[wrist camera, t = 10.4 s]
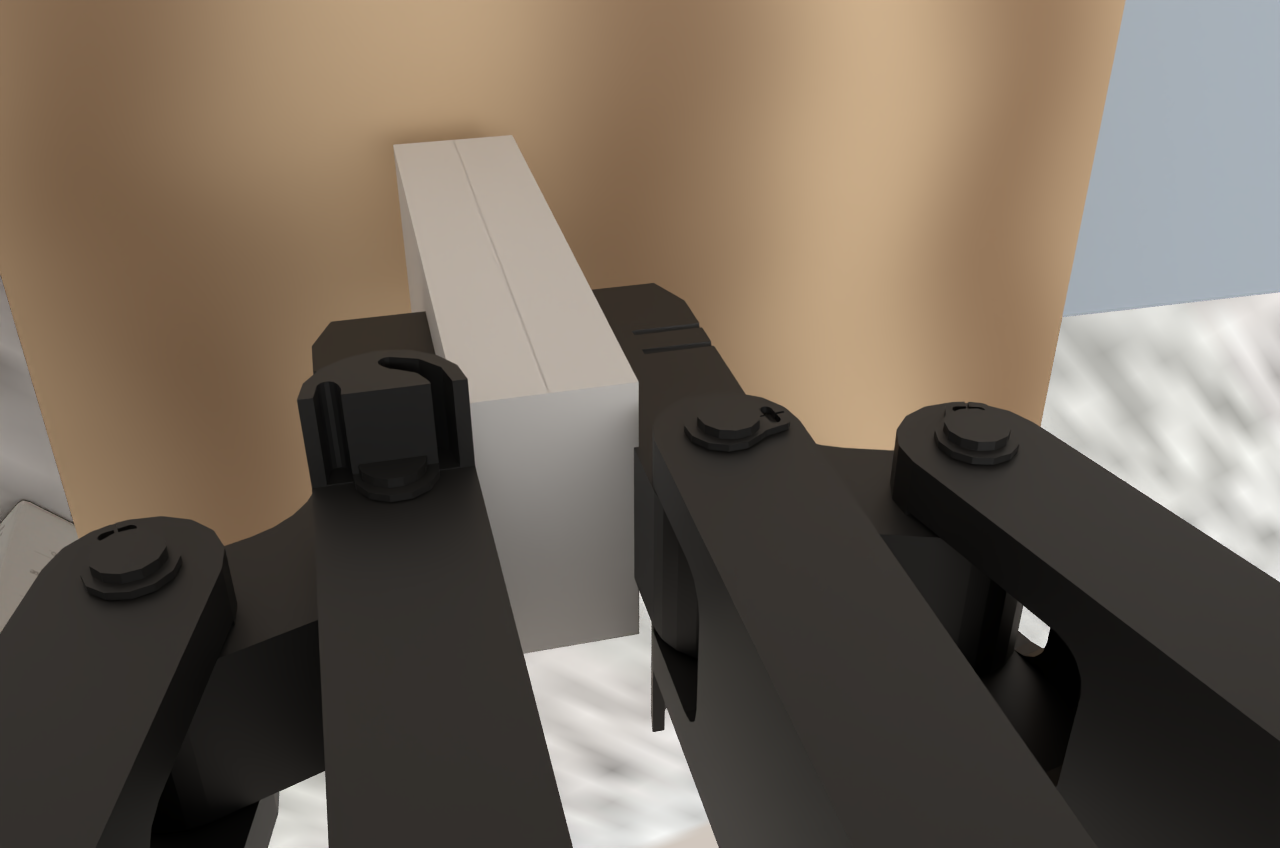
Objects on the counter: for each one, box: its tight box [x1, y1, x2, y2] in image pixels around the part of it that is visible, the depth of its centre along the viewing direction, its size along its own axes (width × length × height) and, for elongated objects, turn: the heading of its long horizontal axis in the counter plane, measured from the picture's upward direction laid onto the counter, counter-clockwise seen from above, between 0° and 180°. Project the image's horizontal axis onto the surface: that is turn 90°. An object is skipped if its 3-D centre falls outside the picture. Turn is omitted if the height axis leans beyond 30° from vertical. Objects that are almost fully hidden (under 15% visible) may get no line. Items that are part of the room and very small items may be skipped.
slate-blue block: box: [1062, 0, 1280, 317], centre depth 25 cm, size 7×7×7 cm
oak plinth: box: [0, 0, 1126, 546], centre depth 21 cm, size 16×14×9 cm
